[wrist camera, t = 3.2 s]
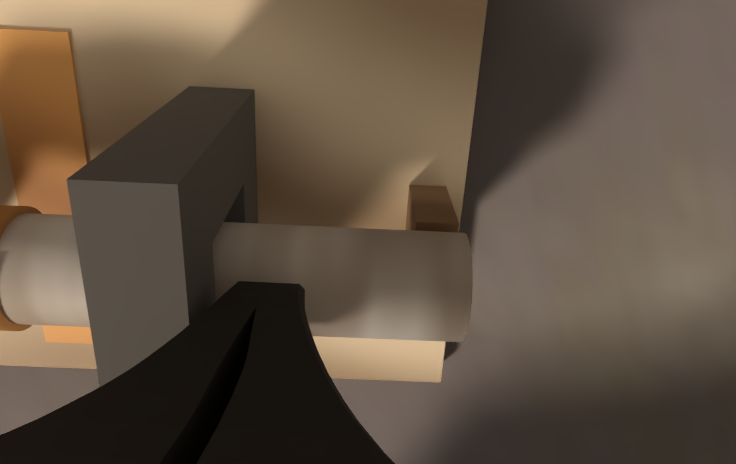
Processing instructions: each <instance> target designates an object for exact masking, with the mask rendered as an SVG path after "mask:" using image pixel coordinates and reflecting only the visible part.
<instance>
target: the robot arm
mask: <svg viewBox="0 0 736 464" xmlns="http://www.w3.org/2000/svg"><path fill="white" fill-rule="evenodd" d="M0 464H395V463H394V462H393V461H392V460H391V459H390V458H389V457H388V456H387V455H386V454H385V453H384V452H383V450H382V449H381V448H380V447H379V446H378V444H377V443H376V442H375V441H374V440H373V438H372V437H371V436H370V435H369V434H368V432H367V431H366V430H365V429H364V428H363V426H362V425H361V424H360V423H359V421H358V420H357V419H356V417H355V416H354V414H353V413H352V411H351V410H350V409H349V407H348V406H347V404H346V403H345V401H344V400H343V398H342V396H341V395H340V393H339V391H338V390H337V388H336V386H335V385H334V383H333V381H332V379H331V377H330V375H329V373H328V371H327V369H326V367H325V365H324V363H323V361H322V359H321V357H320V354H319V352H318V349H317V347H316V344H315V342H314V339H313V336H312V333H311V330H310V327H309V324H308V320H307V316H306V312H305V289H304V288H303V287H302V286H301V285H300V284H293V283H272V282H250V281H238V282H237V283H236V284H235V285H234V286H232V287H231V288H230V289H229V290H228V291H227V292H225V293H224V294H223V295H222V296H221V297H220V298H219V299H218V300H217V301H216V302H214V303H213V304H212V305H211V306H210V307H209V308H208V309H207V310H206V311H204V312H203V313H202V314H201V315H200V316H199V317H198V318H196V319H195V320H194V321H193V322H192V323H190V324H189V325H188V326H187V327H186V328H185V329H183V330H182V331H181V332H180V333H179V334H177V335H176V336H175V337H173V338H172V339H171V340H169V341H168V342H167V343H165V344H164V345H163V346H162V347H160V348H159V349H158V350H156V351H155V352H154V353H152V354H151V355H150V356H148V357H147V358H145V359H144V360H143V361H141V362H140V363H138V364H137V365H135V366H134V367H132V368H131V369H129V370H127V371H126V372H124V373H123V374H121V375H119V376H118V377H116V378H114V379H113V380H111V381H109V382H108V383H106V384H104V385H103V386H101V387H99V388H98V389H96V390H94V391H92V392H90V393H88V394H86V395H84V396H83V397H81V398H79V399H77V400H75V401H73V402H71V403H69V404H67V405H65V406H63V407H61V408H59V409H57V410H55V411H53V412H51V413H49V414H47V415H45V416H43V417H41V418H39V419H37V420H34V421H32V422H30V423H28V424H25V425H23V426H21V427H18V428H16V429H14V430H12V431H9V432H7V433H4V434H2V435H0Z"/></svg>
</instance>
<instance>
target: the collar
mask: <svg viewBox="0 0 736 464" xmlns="http://www.w3.org/2000/svg"><path fill="white" fill-rule="evenodd" d="M66 180H67V186H68V193H69V199H70V205H71V211H72V217H73V224H74V230H75V236H76V242H77V248H78V255H79V261H80V267H81V273H82V279H83V286H84V292H85V298H86V304H87V310H88V317H89V323H90V329H91V335H92V341H93V347H94V354H95V360H96V366H97V372H98V378H99V385H100V387H101V386H103V385H104V384H106V383H108V382H109V381H111V380H113V379H114V378H116V377H118V376H119V375H121V374H123V373H124V372H126V371H127V370H129V369H131V368H132V367H134V366H135V365H137V364H138V363H140V362H141V361H143V360H144V359H145V358H147V357H148V356H150V355H151V354H152V353H154V352H155V351H156V350H158V349H159V348H160V347H162V346H163V345H164V344H165V343H167V342H168V341H169V340H171V339H172V338H173V337H175V336H176V335H177V334H179V333H180V332H181V331H182V330H183V329H185V328H186V327H187V326H188V325H189V324H190V323H192V322H193V321H194V320H195V319H196V318H198V317H199V316H200V315H201V314H202V313H203V312H204V311H206V310H207V309H208V308H209V307H210V306H211V305H212V304H213V303H214V302H216V294H215V278H214V261H213V244H212V243H213V241H214V239H215V237H216V235H217V233H218V231H219V229H220V227H221V226H222V224H223V222H236V223H258V205H257V166H256V126H255V89H236V88H216V87H196V86H189V87H187V88H186V89H185V90H183V91H182V92H181V93H180V94H178V95H177V96H176V97H174V98H173V99H172V100H170V101H169V102H168V103H166V104H165V105H164V106H162V107H161V108H160V109H158V110H157V111H156V112H154V113H153V114H152V115H151V116H149V117H148V118H147V119H145V120H144V121H143V122H141V123H140V124H139V125H137V126H136V127H135V128H133V129H132V130H131V131H129V132H128V133H127V134H125V135H124V136H123V137H122V138H120V139H119V140H118V141H116V142H115V143H114V144H112V145H111V146H110V147H108V148H107V149H106V150H104V151H103V152H102V153H100V154H99V155H98V156H96V157H95V158H94V159H93V160H91V161H90V162H89V163H87V164H86V165H85V166H83V167H82V168H81V169H79V170H78V171H77V172H75V173H74V174H73V175H71V176H70V177H69V178H67V179H66Z"/></svg>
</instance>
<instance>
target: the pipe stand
mask: <svg viewBox="0 0 736 464" xmlns="http://www.w3.org/2000/svg"><path fill="white" fill-rule="evenodd" d="M487 3H488V0H0V365H9V366H35V367H61V368H86V369H97V366H96V360H95V354H94V347H93V341H92V335H91V329H90V323H89V317H88V310H87V304H86V298H85V292H84V286H83V279H82V273H81V267H80V261H79V255H78V248H77V242H76V236H75V230H74V224H73V217H72V211H71V205H70V199H69V193H68V186H67V180H66V179H67V178H69V177H70V176H71V175H73V174H74V173H75V172H77V171H78V170H79V169H81V168H82V167H83V166H85V165H86V164H87V163H89V162H90V161H91V160H93V159H94V158H95V157H96V156H98V155H99V154H100V153H102V152H103V151H104V150H106V149H107V148H108V147H110V146H111V145H112V144H114V143H115V142H116V141H118V140H119V139H120V138H122V137H123V136H124V135H125V134H127V133H128V132H129V131H131V130H132V129H133V128H135V127H136V126H137V125H139V124H140V123H141V122H143V121H144V120H145V119H147V118H148V117H149V116H151V115H152V114H153V113H154V112H156V111H157V110H158V109H160V108H161V107H162V106H164V105H165V104H166V103H168V102H169V101H170V100H172V99H173V98H174V97H176V96H177V95H178V94H180V93H181V92H182V91H183V90H185V89H186V88H187V87H189V86H196V87H216V88H236V89H255V126H256V166H257V205H258V223H236V222H223V224H222V226H221V227H220V229H219V231H218V233H217V235H216V237H215V239H214V241H213V243H212V244H213V261H214V278H215V294H216V301H217V300H218V299H219V298H220V297H221V296H222V295H223V294H224V293H225V292H227V291H228V290H229V289H230V288H231V287H232V286H234V285H235V284H236V283H237V282H238V281H250V282H272V283H293V284H300V285H301V286H302V287H303V288H304V289H305V312H306V316H307V320H308V324H309V327H310V330H311V333H312V336H313V339H314V342H315V344H316V347H317V349H318V352H319V354H320V357H321V359H322V361H323V363H324V365H325V367H326V369H327V371H328V373H329V375H330V377H331V378H343V379H369V380H395V381H420V382H441V375H442V366H443V358H444V350H445V342H462V341H463V340H464V339H465V336H466V333H467V330H468V325H469V320H470V312H471V303H472V257H471V249H470V243H469V239H468V237H467V235H466V233H459V229H460V221H461V213H462V205H463V197H464V189H465V181H466V173H467V164H468V156H469V148H470V140H471V132H472V124H473V116H474V108H475V100H476V92H477V84H478V76H479V68H480V59H481V51H482V43H483V35H484V27H485V19H486V11H487Z"/></svg>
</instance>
